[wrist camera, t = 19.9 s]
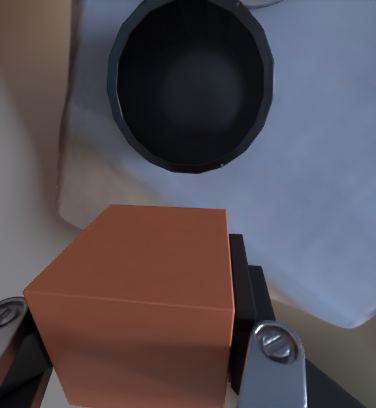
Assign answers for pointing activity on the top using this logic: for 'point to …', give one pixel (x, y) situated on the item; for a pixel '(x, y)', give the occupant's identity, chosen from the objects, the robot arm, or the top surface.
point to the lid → (259, 3)
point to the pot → (190, 82)
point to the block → (140, 309)
